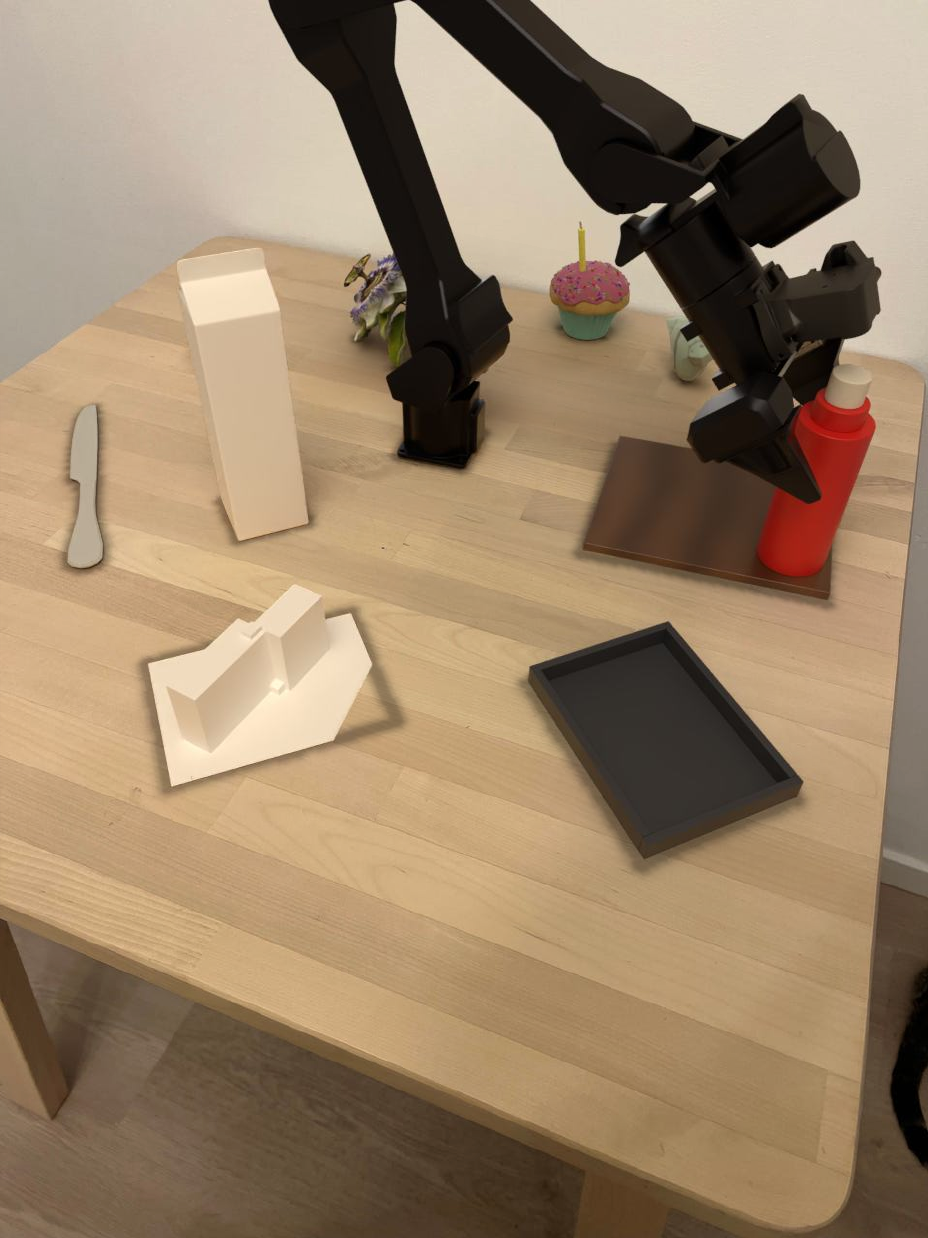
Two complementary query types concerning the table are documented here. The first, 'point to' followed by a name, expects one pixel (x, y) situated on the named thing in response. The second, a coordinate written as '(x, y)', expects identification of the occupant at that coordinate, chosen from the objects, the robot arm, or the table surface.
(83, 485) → the butter knife
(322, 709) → the white building model
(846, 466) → the ketchup
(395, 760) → the table surface
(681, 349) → the robot head
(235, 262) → the milk
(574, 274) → the cupcake
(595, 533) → the serving board
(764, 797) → the baking tray
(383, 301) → the passion flower
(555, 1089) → the table surface
